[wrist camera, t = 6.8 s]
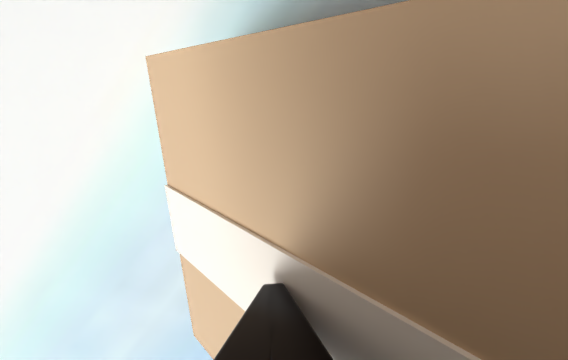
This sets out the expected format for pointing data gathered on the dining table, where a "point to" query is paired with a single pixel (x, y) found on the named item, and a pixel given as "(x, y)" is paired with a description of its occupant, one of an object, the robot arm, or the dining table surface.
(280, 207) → the carton lid
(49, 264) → the dining table surface
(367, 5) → the dining table surface
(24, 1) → the dining table surface
